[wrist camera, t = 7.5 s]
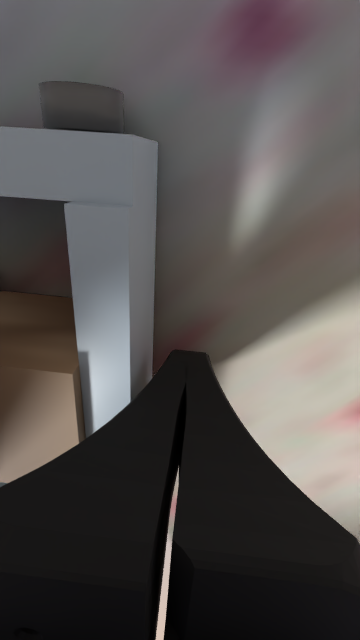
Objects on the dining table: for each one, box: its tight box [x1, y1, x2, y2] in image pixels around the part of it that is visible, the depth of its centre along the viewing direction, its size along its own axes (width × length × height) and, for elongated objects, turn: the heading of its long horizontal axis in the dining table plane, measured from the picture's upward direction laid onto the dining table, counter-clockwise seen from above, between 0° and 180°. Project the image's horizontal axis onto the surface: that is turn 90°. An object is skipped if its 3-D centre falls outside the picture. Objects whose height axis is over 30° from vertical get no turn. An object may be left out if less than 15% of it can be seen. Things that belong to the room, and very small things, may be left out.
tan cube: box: [0, 291, 86, 483], centre depth 10 cm, size 4×4×4 cm
